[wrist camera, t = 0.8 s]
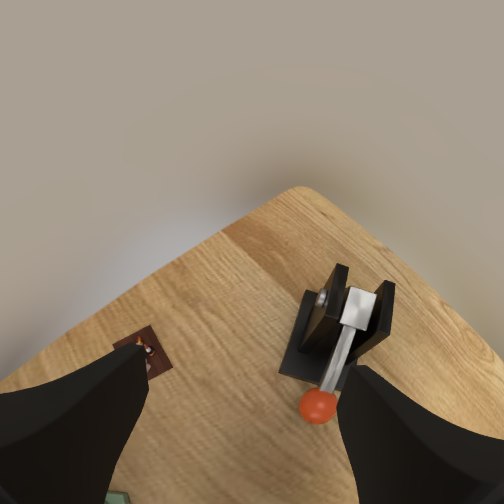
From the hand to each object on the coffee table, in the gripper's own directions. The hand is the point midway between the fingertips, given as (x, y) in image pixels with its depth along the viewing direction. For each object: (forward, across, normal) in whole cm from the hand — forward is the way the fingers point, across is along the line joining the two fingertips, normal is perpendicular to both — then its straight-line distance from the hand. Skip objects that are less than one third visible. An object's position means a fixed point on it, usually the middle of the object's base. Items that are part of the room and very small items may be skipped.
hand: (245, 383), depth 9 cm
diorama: (+14, +10, +10) cm, 20 cm away
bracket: (+17, -8, +7) cm, 20 cm away
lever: (+11, -7, +6) cm, 14 cm away
